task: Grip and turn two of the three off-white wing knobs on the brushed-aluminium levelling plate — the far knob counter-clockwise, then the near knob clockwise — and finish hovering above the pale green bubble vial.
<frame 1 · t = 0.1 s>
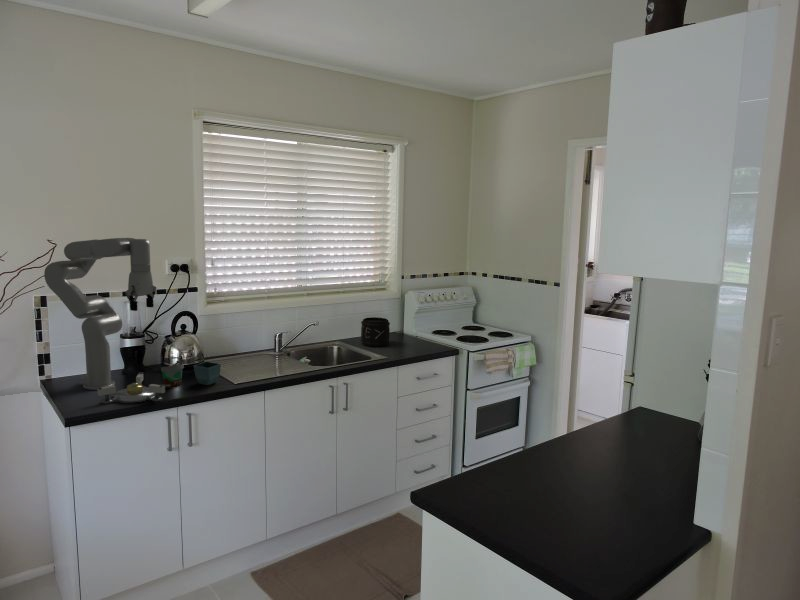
hand: (142, 308, 243), 37 cm above the counter, tool pointing down, fingers open, 9 cm apart
near knob: (106, 392, 233), point 4 cm above the counter, hinge at 0.0°
black canister: (374, 344, 355), on the counter
food container: (176, 386, 259), on the counter
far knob: (157, 391, 238), point 4 cm above the counter, hinge at 0.0°
flower pot: (207, 383, 264), on the counter
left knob: (139, 380, 252), point 4 cm above the counter, hinge at 0.0°
levelling plate: (135, 397, 242), on the counter
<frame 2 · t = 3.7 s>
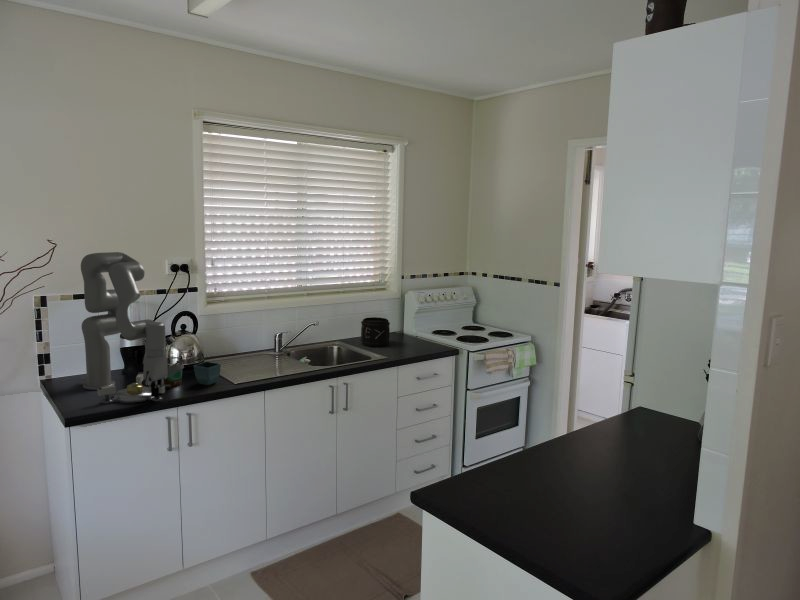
hand: (157, 395, 238), 2 cm above the counter, tool pointing down, fingers closed on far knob, 2 cm apart
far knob: (157, 391, 238), point 4 cm above the counter, hinge at 0.0°, touching gripper
everything else where it was.
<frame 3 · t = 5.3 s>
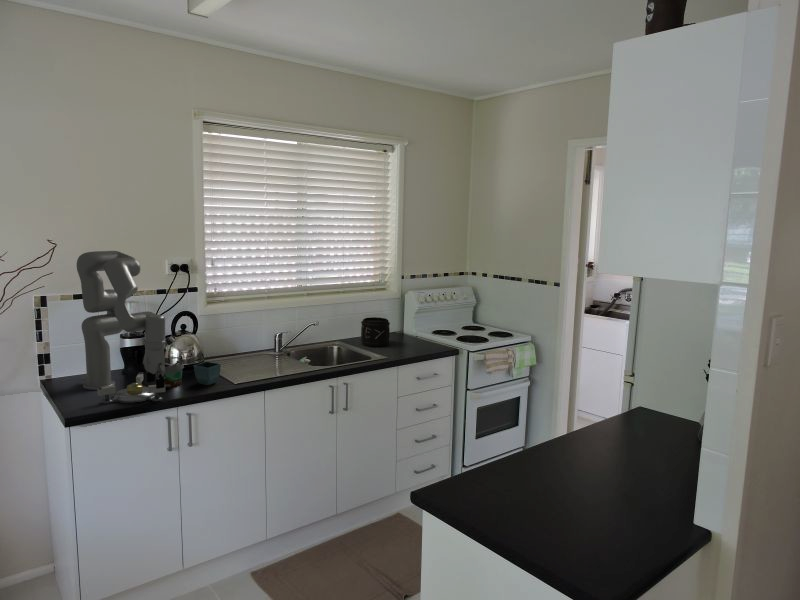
hand: (155, 384, 238), 6 cm above the counter, tool pointing down, fingers open, 9 cm apart
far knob: (157, 391, 238), point 4 cm above the counter, hinge at 40.1°
everything else where it was.
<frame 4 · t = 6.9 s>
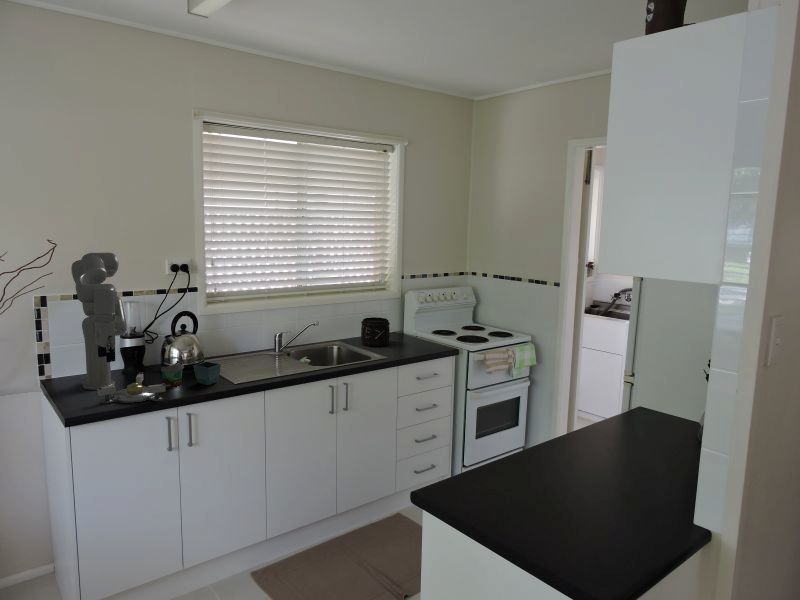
hand: (106, 359, 232), 18 cm above the counter, tool pointing down, fingers open, 9 cm apart
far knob: (157, 391, 238), point 4 cm above the counter, hinge at 46.6°
everything else where it was.
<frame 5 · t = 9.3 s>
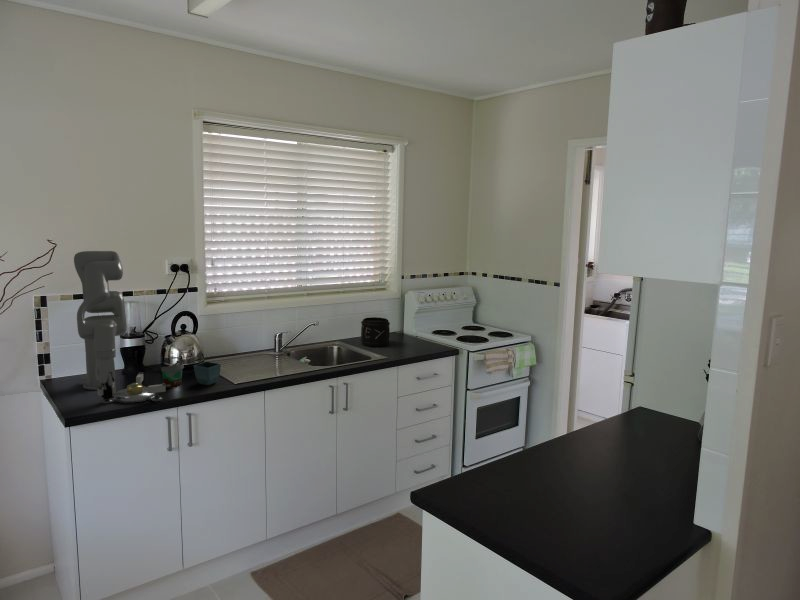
hand: (107, 397, 234), 2 cm above the counter, tool pointing down, fingers closed on near knob, 2 cm apart
near knob: (106, 392, 233), point 4 cm above the counter, hinge at 0.0°, touching gripper
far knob: (157, 391, 238), point 4 cm above the counter, hinge at 48.4°
everything else where it was.
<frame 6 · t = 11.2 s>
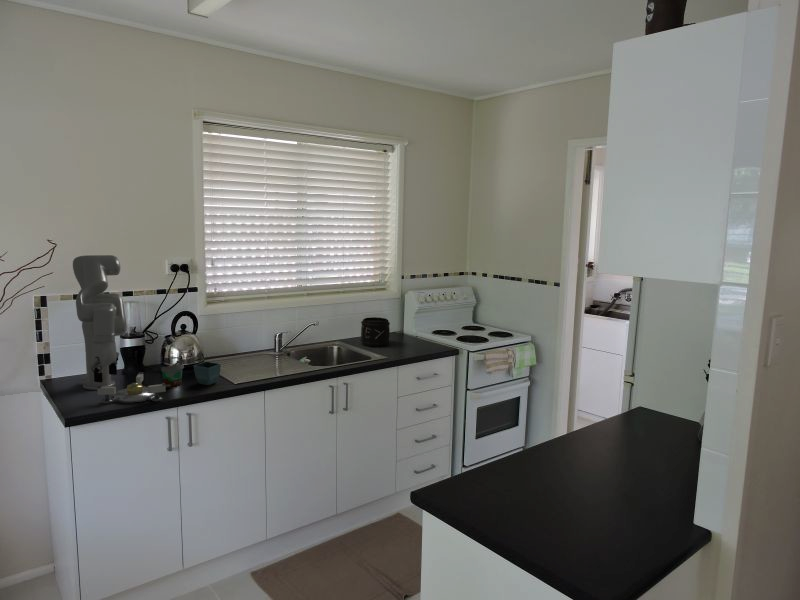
hand: (105, 378, 234), 10 cm above the counter, tool pointing down, fingers open, 9 cm apart
near knob: (106, 392, 233), point 4 cm above the counter, hinge at -35.7°
everything else where it was.
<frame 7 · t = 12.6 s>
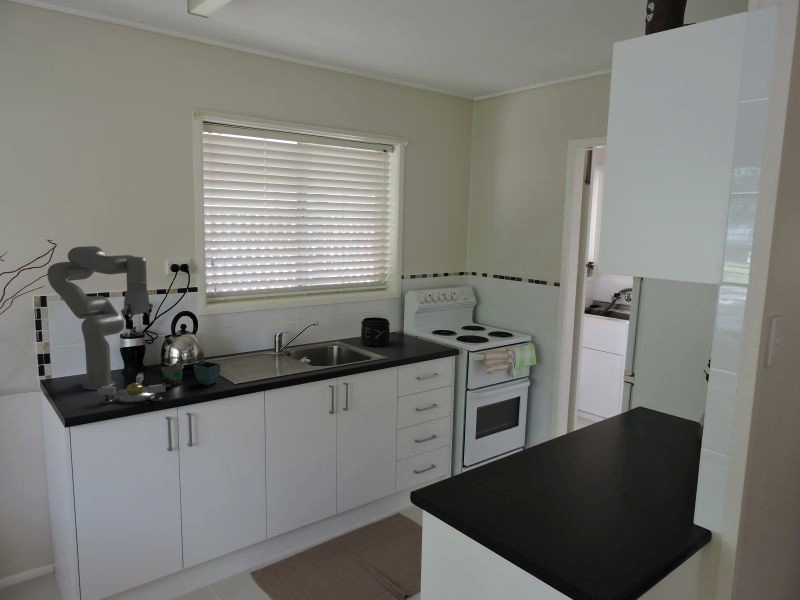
hand: (138, 327, 241), 29 cm above the counter, tool pointing down, fingers open, 9 cm apart
near knob: (106, 392, 233), point 4 cm above the counter, hinge at -40.8°
everything else where it was.
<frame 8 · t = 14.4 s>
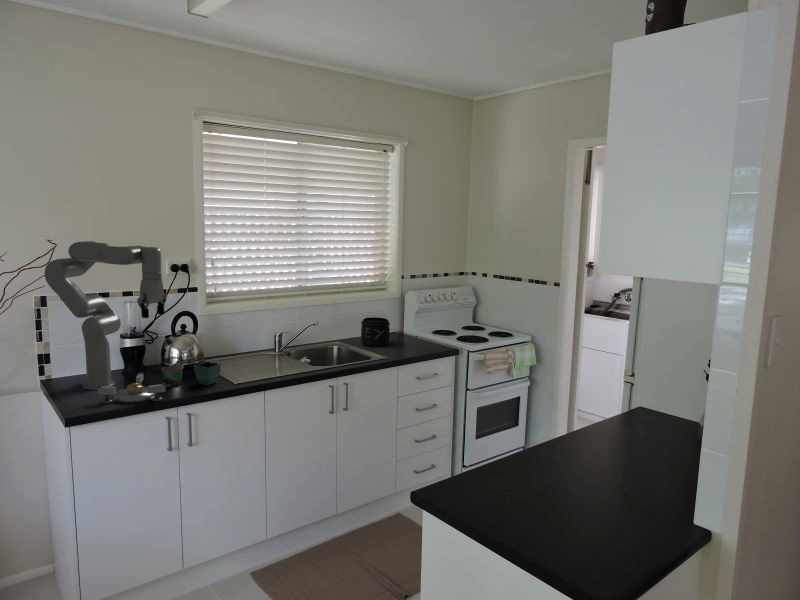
hand: (153, 316, 246), 33 cm above the counter, tool pointing down, fingers open, 9 cm apart
near knob: (106, 392, 233), point 4 cm above the counter, hinge at -42.5°
everything else where it was.
at the end: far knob at +49° (first picture: +0°); near knob at -42° (first picture: +0°); the gripper is holding nothing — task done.
